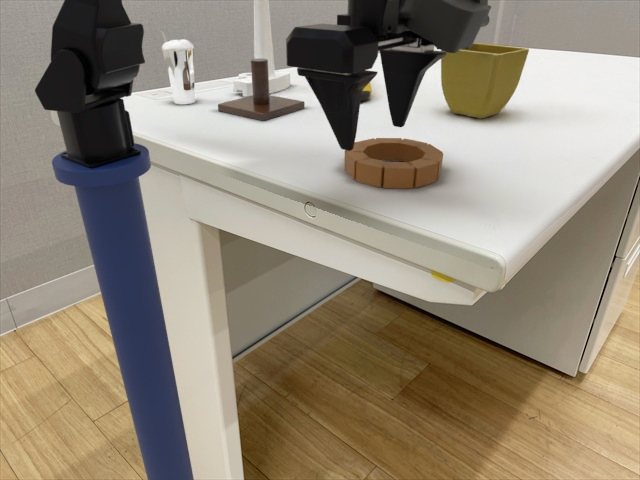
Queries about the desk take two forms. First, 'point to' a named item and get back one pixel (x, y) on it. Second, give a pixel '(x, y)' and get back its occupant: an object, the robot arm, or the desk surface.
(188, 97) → the milkshake
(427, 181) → the brick ring
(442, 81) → the flower pot
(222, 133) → the desk surface
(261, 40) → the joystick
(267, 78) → the peg
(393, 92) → the robot arm
